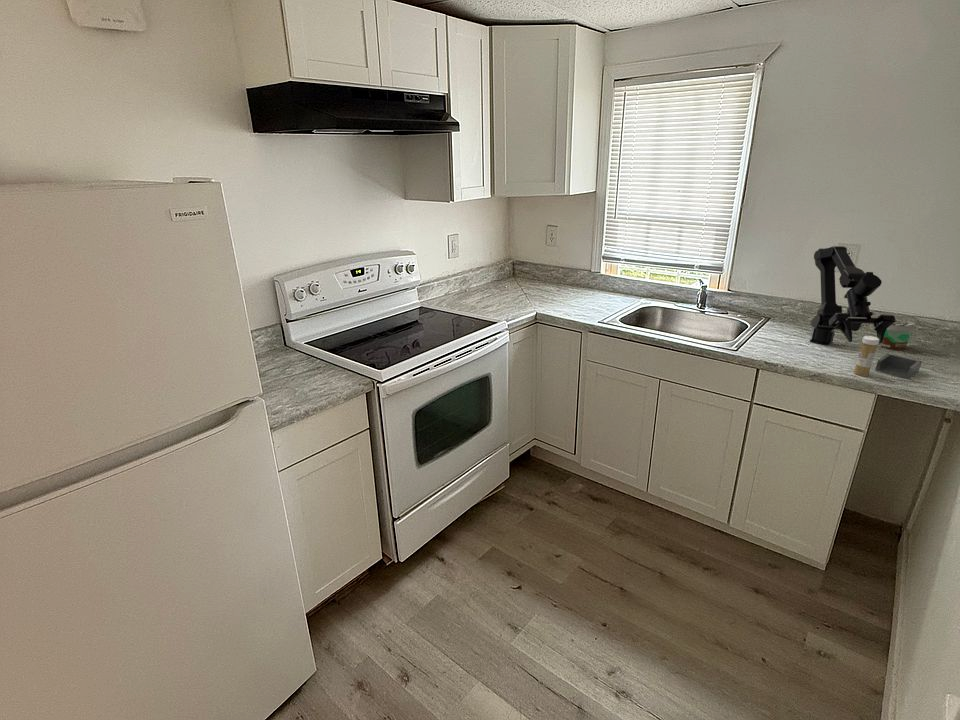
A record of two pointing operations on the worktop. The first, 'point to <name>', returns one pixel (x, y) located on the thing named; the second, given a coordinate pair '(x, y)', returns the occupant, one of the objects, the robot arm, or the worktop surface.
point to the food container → (897, 336)
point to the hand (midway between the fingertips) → (865, 342)
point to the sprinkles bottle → (866, 355)
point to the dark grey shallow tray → (898, 366)
